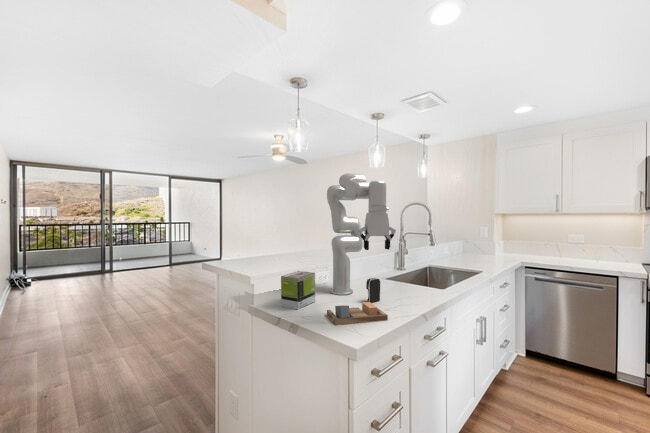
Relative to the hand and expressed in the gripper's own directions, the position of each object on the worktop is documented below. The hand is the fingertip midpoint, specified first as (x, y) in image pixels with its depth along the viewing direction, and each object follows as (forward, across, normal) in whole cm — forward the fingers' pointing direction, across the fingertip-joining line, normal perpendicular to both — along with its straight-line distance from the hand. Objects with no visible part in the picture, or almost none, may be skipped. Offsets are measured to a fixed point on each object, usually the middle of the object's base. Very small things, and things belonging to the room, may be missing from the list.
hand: (377, 249), depth 129 cm
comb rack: (+28, +10, 0) cm, 30 cm away
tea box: (+29, +30, -24) cm, 48 cm away
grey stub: (+27, +16, +2) cm, 32 cm away
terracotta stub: (+28, +3, -1) cm, 29 cm away
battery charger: (+28, -7, -20) cm, 35 cm away
